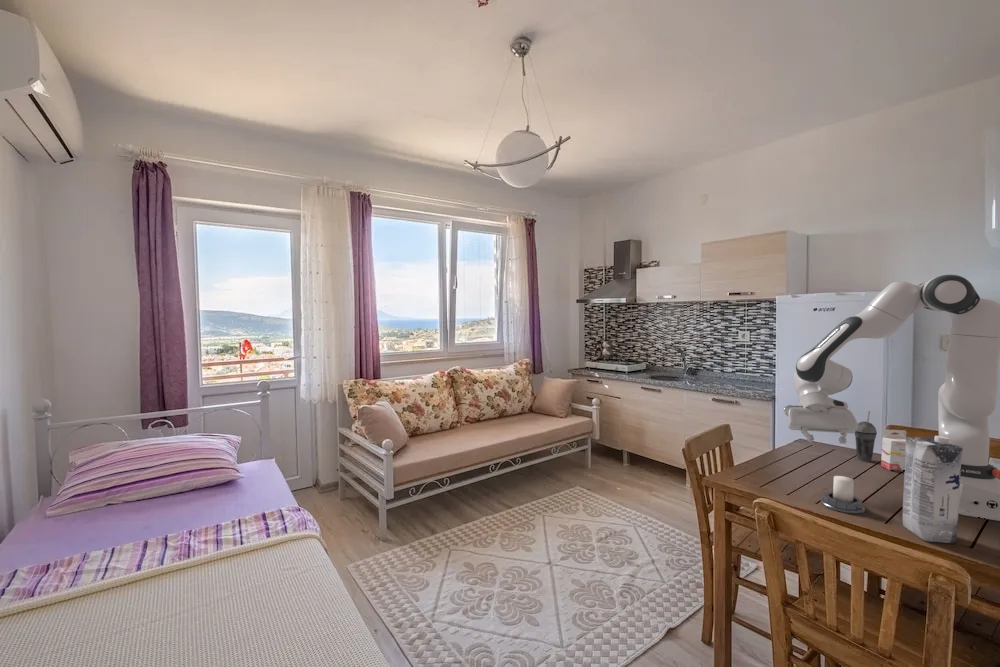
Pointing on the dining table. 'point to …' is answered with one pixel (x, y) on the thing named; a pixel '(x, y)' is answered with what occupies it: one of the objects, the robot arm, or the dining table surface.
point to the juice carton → (932, 488)
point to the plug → (843, 489)
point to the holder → (843, 504)
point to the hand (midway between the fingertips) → (827, 441)
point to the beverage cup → (865, 440)
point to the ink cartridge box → (893, 450)
